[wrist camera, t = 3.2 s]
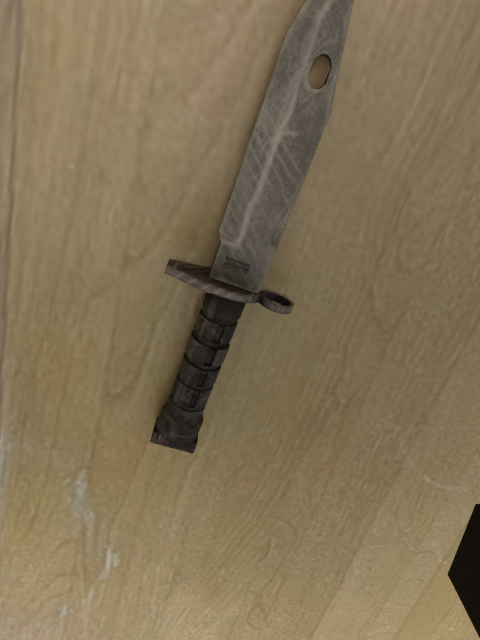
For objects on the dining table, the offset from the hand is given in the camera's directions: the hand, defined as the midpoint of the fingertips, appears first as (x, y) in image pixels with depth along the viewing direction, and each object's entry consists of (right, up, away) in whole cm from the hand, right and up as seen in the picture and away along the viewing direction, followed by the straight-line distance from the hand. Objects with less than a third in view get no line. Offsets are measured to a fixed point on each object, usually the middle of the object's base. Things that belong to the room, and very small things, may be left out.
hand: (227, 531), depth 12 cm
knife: (+1, +9, +5) cm, 10 cm away
